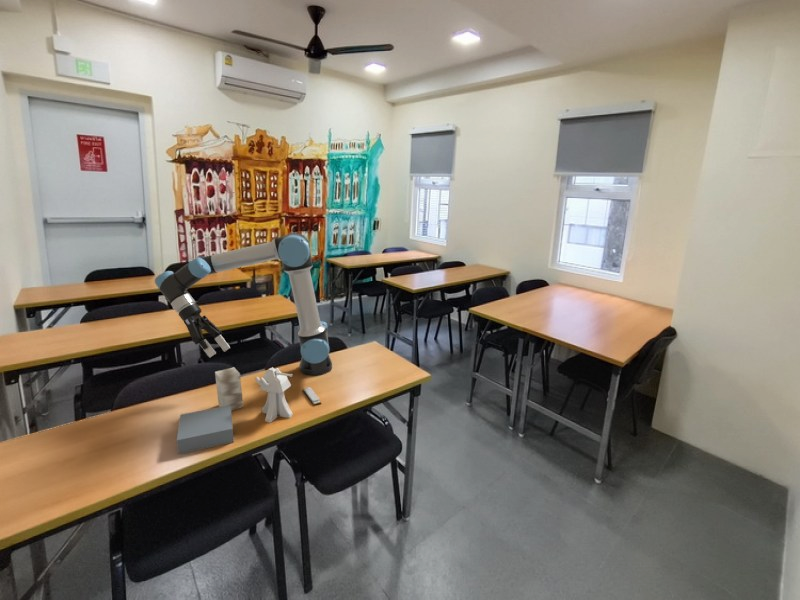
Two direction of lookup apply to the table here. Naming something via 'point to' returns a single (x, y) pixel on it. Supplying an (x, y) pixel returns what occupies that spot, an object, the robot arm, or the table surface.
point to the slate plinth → (205, 429)
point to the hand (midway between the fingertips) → (220, 352)
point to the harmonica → (312, 396)
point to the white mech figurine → (275, 394)
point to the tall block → (229, 388)
